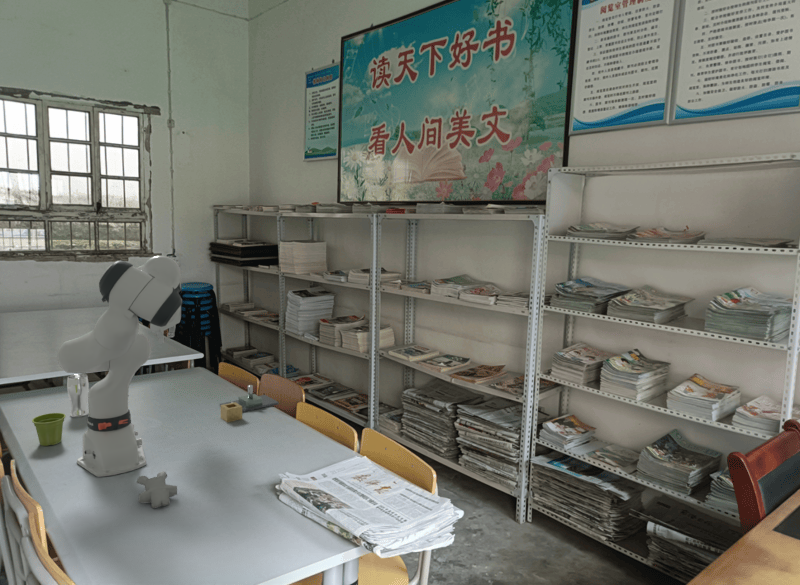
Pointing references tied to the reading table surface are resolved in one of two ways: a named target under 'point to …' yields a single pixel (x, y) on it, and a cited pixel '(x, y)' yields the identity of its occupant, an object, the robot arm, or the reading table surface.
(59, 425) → the plant pot
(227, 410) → the tan square sleeve
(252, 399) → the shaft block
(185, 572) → the reading table surface
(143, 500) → the grey chunky knobbed piece
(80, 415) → the beer glass
